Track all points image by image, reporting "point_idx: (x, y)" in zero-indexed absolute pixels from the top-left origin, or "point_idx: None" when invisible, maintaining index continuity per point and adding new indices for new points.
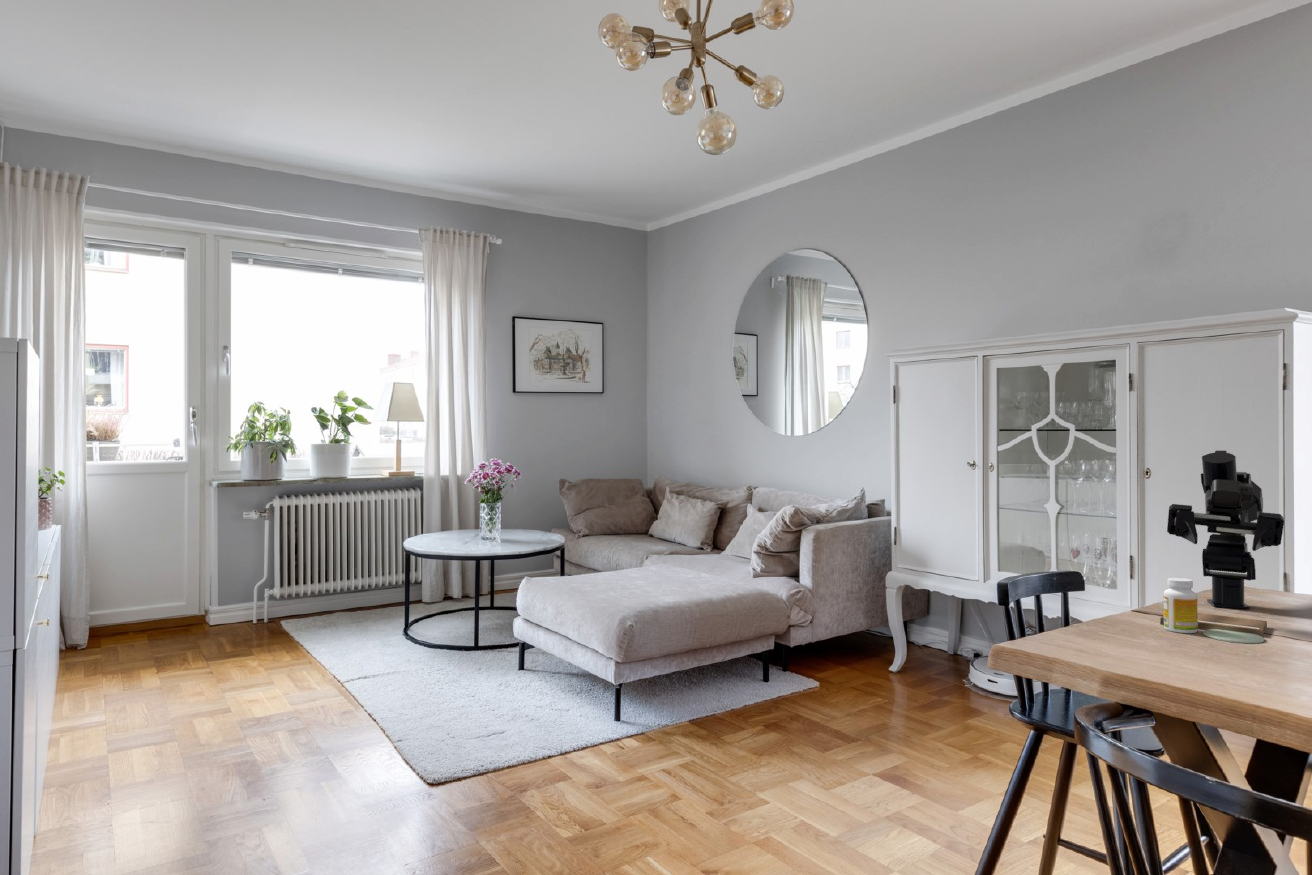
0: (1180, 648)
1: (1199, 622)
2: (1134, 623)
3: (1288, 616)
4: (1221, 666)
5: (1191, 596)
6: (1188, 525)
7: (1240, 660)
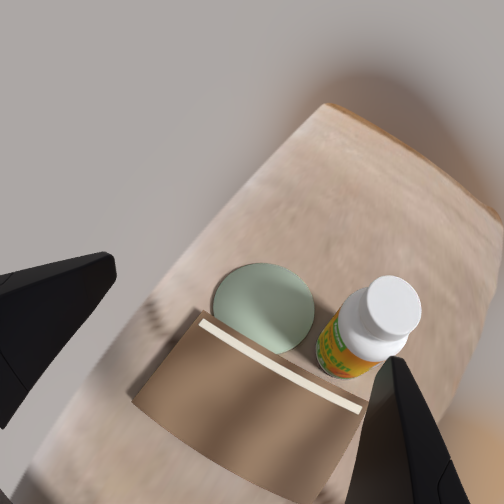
0: (372, 229)
1: (302, 371)
2: None
3: (39, 485)
4: (344, 169)
5: (360, 289)
6: (462, 488)
7: (316, 186)
